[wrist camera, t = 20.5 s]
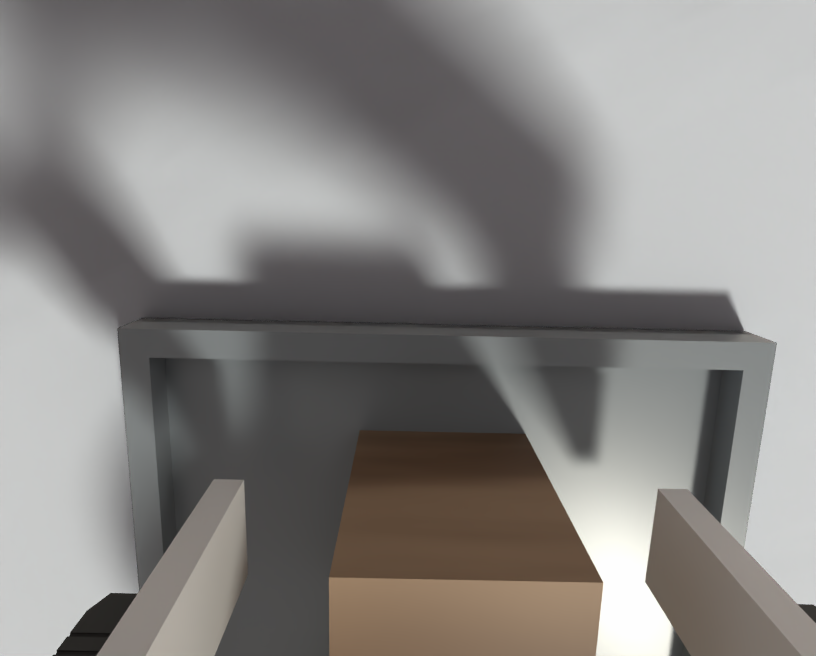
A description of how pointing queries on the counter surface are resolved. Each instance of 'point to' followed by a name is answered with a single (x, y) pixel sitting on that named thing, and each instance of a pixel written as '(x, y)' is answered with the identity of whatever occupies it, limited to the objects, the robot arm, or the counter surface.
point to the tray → (433, 412)
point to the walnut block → (458, 553)
